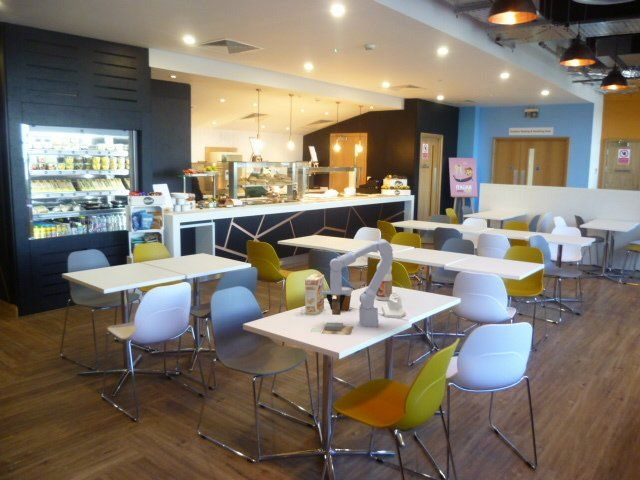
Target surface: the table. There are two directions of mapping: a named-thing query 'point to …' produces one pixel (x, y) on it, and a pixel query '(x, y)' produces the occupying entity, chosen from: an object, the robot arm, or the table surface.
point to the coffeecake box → (314, 294)
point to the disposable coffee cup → (347, 299)
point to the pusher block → (336, 307)
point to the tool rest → (316, 330)
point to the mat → (345, 331)
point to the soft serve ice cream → (393, 307)
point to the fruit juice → (385, 285)
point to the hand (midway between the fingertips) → (336, 309)
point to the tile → (334, 326)
